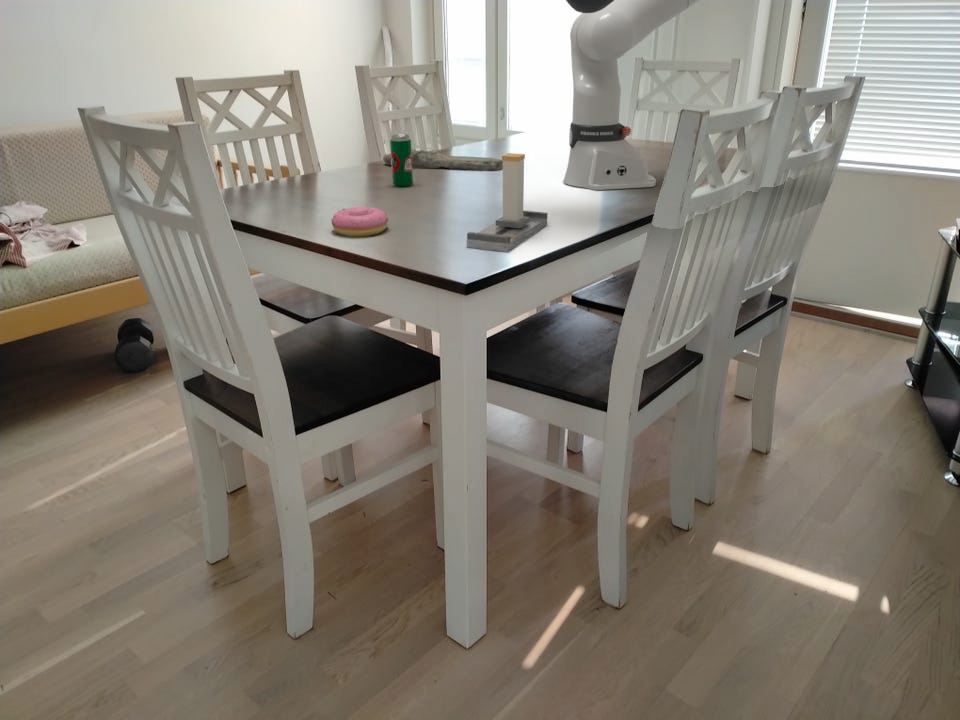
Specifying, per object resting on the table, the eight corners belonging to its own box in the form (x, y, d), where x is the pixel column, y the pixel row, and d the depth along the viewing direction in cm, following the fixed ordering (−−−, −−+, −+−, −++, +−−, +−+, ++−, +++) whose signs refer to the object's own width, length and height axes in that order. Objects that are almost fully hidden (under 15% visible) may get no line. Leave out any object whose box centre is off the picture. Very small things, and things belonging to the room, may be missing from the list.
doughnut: (326, 228, 146) (324, 207, 144) (379, 222, 150) (377, 201, 148) (340, 241, 137) (338, 219, 135) (396, 234, 141) (395, 213, 139)
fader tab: (506, 219, 142) (506, 152, 137) (529, 222, 140) (531, 153, 135) (495, 225, 138) (495, 156, 133) (520, 228, 136) (520, 158, 131)
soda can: (410, 188, 179) (407, 137, 174) (390, 187, 180) (387, 136, 175) (415, 183, 183) (413, 134, 178) (396, 183, 184) (393, 133, 179)
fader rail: (510, 221, 148) (510, 209, 147) (547, 225, 145) (547, 212, 144) (466, 247, 132) (466, 233, 131) (507, 252, 129) (507, 238, 128)
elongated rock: (497, 178, 196) (506, 174, 205) (498, 158, 194) (508, 154, 203) (376, 166, 204) (390, 162, 213) (377, 146, 202) (391, 143, 211)
